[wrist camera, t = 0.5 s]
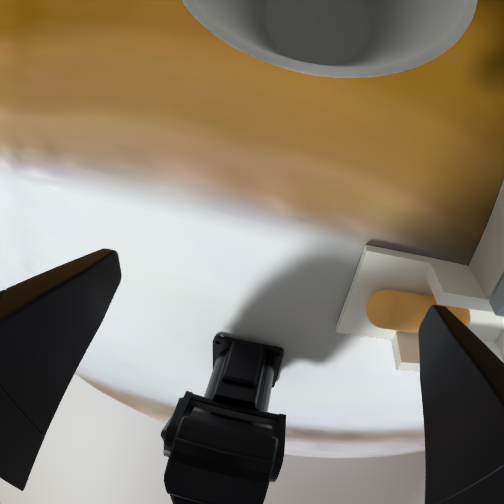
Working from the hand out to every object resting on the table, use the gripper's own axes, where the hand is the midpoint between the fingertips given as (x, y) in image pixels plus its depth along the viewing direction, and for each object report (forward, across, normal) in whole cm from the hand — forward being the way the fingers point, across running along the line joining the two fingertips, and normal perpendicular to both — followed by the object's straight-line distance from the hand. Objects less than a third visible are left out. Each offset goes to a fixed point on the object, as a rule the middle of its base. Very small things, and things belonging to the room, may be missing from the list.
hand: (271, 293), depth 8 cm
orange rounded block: (+12, -11, +8) cm, 18 cm away
